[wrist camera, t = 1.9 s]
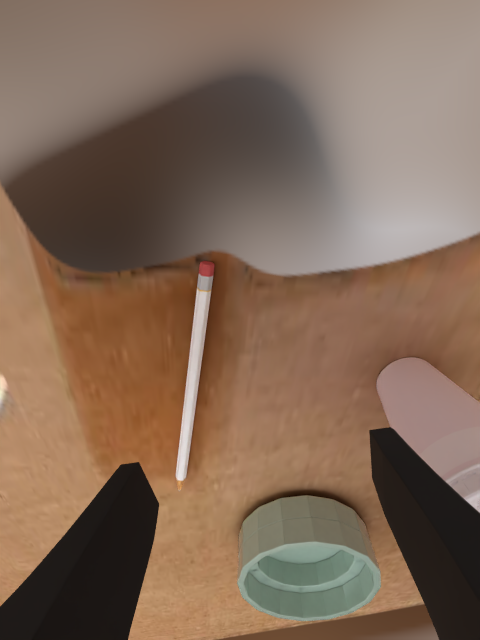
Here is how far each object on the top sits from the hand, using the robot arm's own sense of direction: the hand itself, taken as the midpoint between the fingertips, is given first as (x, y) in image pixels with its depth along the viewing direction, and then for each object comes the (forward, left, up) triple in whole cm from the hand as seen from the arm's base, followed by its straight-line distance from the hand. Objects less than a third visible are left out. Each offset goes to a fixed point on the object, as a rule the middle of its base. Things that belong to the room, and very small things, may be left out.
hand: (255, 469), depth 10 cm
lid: (-1, +20, -10) cm, 23 cm away
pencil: (+5, +4, -10) cm, 12 cm away
